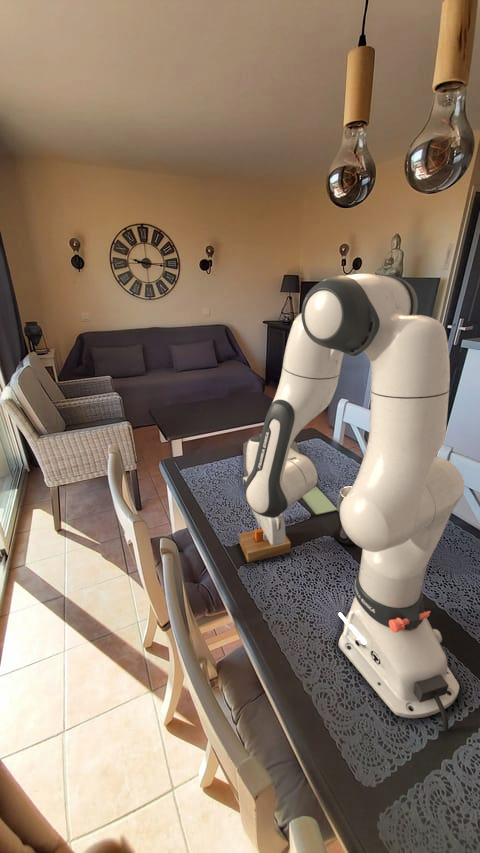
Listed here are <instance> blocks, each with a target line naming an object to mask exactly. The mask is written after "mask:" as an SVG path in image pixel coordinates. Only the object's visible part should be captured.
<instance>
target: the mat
mask: <svg viewBox="0 0 480 853" xmlns="http://www.w3.org/2000/svg"><path fill="white" fill-rule="evenodd" d="M301 499H302V500H303V501H304V502H305V503H306V505H308V507H309V508H310V509H311V510H312V512H313V513H314V514H315V515H316V516H319V515H323V514H328V513H332V512H336V511H337V512H338V507H336V505H334V504H333V503H332V502H331V500H330V499H328V497H327V496H326V495H325V494H324V493H323V492H322V491H321V490H320V489H319V488H318V486H317V485H316V486H315V487H314V488H313V489H312V490H311V491H309V492H308V493H307V494H305V495H304V496H303V497H302V498H301Z"/></svg>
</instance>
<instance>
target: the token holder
mask: <svg viewBox="0 0 480 853" xmlns="http://www.w3.org/2000/svg"><path fill="white" fill-rule="evenodd" d="M255 530H256V529H253V530H250V531H246V532H240V533H238V543H239V544H240V547H241V550H242V552H243V554H244V556H245V560H246V561H247V563H253V562H257V561H260V560H264V559H268V558H272V557H275V556H281V555H284V554H289V553H291V552H292V551H291V549H292V543H291V541H290V539H289V537H288V536H287V535H286V534H285V538H286V539H285V542H284V543H283V544H280V545H275V546H272V545H271V544H270V542H269V541H268V540H267V541H263V542H258V543H256V542H255Z"/></svg>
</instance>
